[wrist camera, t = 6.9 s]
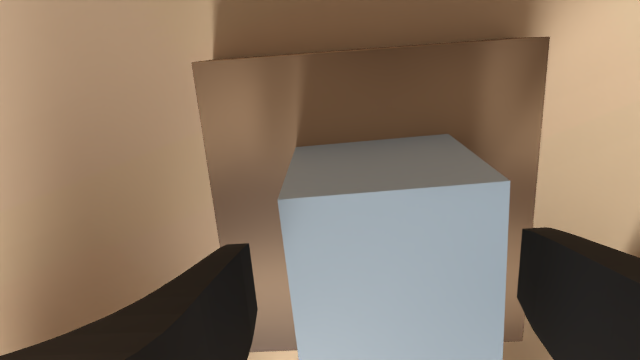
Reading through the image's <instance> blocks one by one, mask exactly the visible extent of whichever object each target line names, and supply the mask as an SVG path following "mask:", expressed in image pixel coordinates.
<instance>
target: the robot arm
mask: <svg viewBox="0 0 640 360" xmlns="http://www.w3.org/2000/svg"><path fill="white" fill-rule="evenodd" d="M517 299H518V301H519V303H520V305H521V307H522V309H523V311H524V313H525V315H526V317H527V319H528V321H529V323H530V325H531V327H532V329H533V330H534V332H535V333H536V335H537V336H538V338H539V339H540V341H541V342H542V344H543V345H544V347H545V348H546V349H547V351H548V352H549V354H550V355H551V357H552V358H553V359H554V360H640V258H638V257H635V256H632V255H630V254H627V253H624V252H621V251H618V250H615V249H612V248H610V247H607V246H604V245H601V244H598V243H596V242H593V241H590V240H587V239H584V238H582V237H579V236H576V235H573V234H570V233H566V232H563V231H560V230H556V229H552V228H547V227H545V228H526V229H522V239H521V251H520V264H519V276H518V288H517ZM257 311H258V308H257V300H256V292H255V285H254V277H253V270H252V262H251V254H250V247H249V243H243V244H226V245H224V246H222V247H221V248H219V249H217V250H216V251H214V252H213V253H211V254H210V255H209V256H207V257H206V258H204V259H203V260H201V261H200V262H199V263H197V264H196V265H194V266H193V267H191V268H190V269H188V270H187V271H185V272H184V273H183V274H181V275H180V276H178V277H176V278H175V279H173V280H172V281H170V282H168V283H167V284H165V285H164V286H162V287H161V288H159V289H157V290H156V291H154V292H153V293H151V294H149V295H147V296H146V297H144V298H142V299H140V300H139V301H137V302H135V303H133V304H131V305H129V306H127V307H125V308H123V309H121V310H119V311H117V312H115V313H113V314H111V315H109V316H107V317H105V318H102V319H100V320H97V321H95V322H93V323H90V324H88V325H86V326H83V327H81V328H78V329H76V330H74V331H71V332H69V333H67V334H64V335H61V336H59V337H56V338H53V339H50V340H48V341H45V342H42V343H39V344H36V345H33V346H30V347H27V348H24V349H21V350H18V351H15V352H12V353H8V354H5V355H2V356H0V360H247V358H248V355H249V352H250V348H251V345H252V341H253V336H254V330H255V324H256V317H257Z"/></svg>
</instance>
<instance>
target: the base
mask: <svg viewBox="0 0 640 360" xmlns="http://www.w3.org/2000/svg"><path fill="white" fill-rule="evenodd" d="M549 39H550V37H529V38H509V39H495V40H481V41H467V42H453V43H439V44H426V45H412V46H398V47H384V48H370V49H356V50H342V51H329V52H315V53H301V54H287V55H273V56H259V57H245V58H232V59H218V60H208V61H200V62H192V69H193V75H194V82H195V88H196V95H197V101H198V108H199V114H200V120H201V127H202V133H203V140H204V146H205V153H206V159H207V165H208V172H209V178H210V185H211V191H212V197H213V204H214V210H215V217H216V223H217V230H218V236H219V242H220V248H221V247H222V246H224V245H226V244H243V243H249V247H250V254H251V262H252V270H253V277H254V285H255V292H256V300H257V308H258V311H257V317H256V324H255V330H254V336H253V341H252V345H251V348H250V352H264V351H289V350H297V342H296V335H295V327H294V320H293V312H292V305H291V297H290V290H289V282H288V275H287V267H286V260H285V252H284V245H283V237H282V230H281V222H280V215H279V208H278V197H279V194H280V191H281V188H282V185H283V182H284V180H285V177H286V174H287V171H288V168H289V165H290V162H291V159H292V157H293V154H294V151H295V148H296V147H303V146H314V145H326V144H337V143H349V142H360V141H371V140H383V139H394V138H406V137H417V136H429V135H440V134H449V135H451V136H452V137H453V138H455V139H456V140H457V141H458V142H460V143H461V144H462V145H464V146H465V147H466V148H468V149H469V150H470V151H472V152H473V153H474V154H476V155H477V156H478V157H480V158H481V159H482V160H483V161H485V162H486V163H487V164H489V165H490V166H491V167H493V168H494V169H495V170H497V171H498V172H499V173H501V174H502V175H503V176H505V177H506V178H507V179H508V180H510V200H509V223H508V246H507V270H506V293H505V317H504V340H503V342H512V341H522V339H523V328H524V317H525V313H524V311H523V309H522V307H521V305H520V303H519V301H518V299H517V288H518V276H519V264H520V251H521V239H522V229H526V228H533V217H534V205H535V194H536V183H537V172H538V161H539V150H540V139H541V128H542V117H543V105H544V94H545V83H546V72H547V61H548V50H549Z"/></svg>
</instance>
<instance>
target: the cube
mask: <svg viewBox="0 0 640 360" xmlns="http://www.w3.org/2000/svg"><path fill="white" fill-rule="evenodd" d="M509 200H510V180H508V179H507V178H506V177H505V176H503V175H502V174H501V173H499V172H498V171H497V170H495V169H494V168H493V167H491V166H490V165H489V164H487V163H486V162H485V161H483V160H482V159H481V158H480V157H478V156H477V155H476V154H474V153H473V152H472V151H470V150H469V149H468V148H466V147H465V146H464V145H462V144H461V143H460V142H458V141H457V140H456V139H455V138H453V137H452V136H451V135H449V134H440V135H429V136H417V137H406V138H394V139H383V140H371V141H360V142H349V143H337V144H326V145H314V146H303V147H296V148H295V151H294V154H293V157H292V159H291V162H290V165H289V168H288V171H287V174H286V177H285V180H284V182H283V185H282V188H281V191H280V194H279V197H278V208H279V215H280V222H281V230H282V237H283V245H284V252H285V260H286V267H287V275H288V282H289V290H290V297H291V305H292V312H293V320H294V327H295V335H296V342H297V350H298V357H299V360H503V340H504V317H505V293H506V270H507V246H508V223H509Z"/></svg>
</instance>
